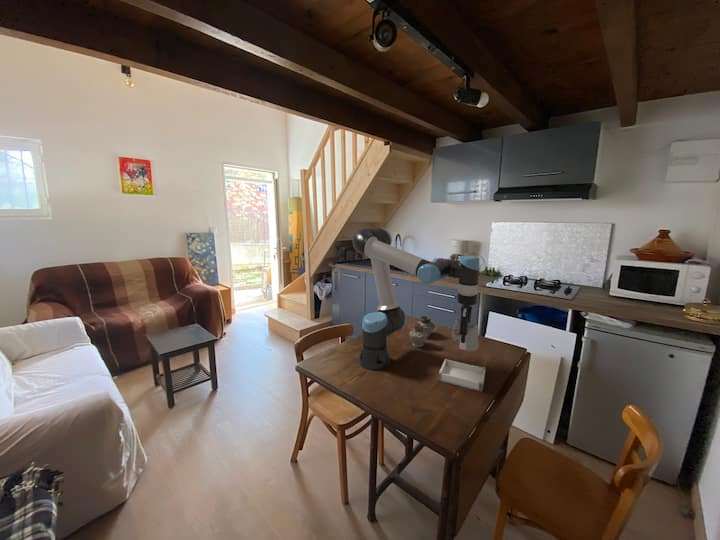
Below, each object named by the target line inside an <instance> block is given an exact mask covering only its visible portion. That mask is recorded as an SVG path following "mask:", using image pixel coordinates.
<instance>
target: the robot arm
mask: <svg viewBox="0 0 720 540" xmlns="http://www.w3.org/2000/svg"><path fill="white" fill-rule="evenodd" d="M392 239H393V238H392V235H391V233H390V231H389V230H387V229H386V228H384V227H379V226H378V227H377V226H375V227H367V228H360V229H359V230H357V231H355V232H354V234H353V236H352V239H351V242H352V247H353V248H354V250H355V251H356V252H358V253H359V254H362V256H366V257H367V258H369V259H370V262H371V267H372V273H373V278H374V283H375V288H376V289H375V290H376V295H377V299H378V304H379V306H378V307H377V308H376V310H377V311H374V312H373V311H372V312H369V313H367V314H365V315H364V316H363V318H362V324H361V327H362V330H361V331H362V336H361V337H362V347H361V349H360V353H359V355H358V363H359V365H360V366H362V367H363V368H365V369H368V370H381V369H386V368H387V367H388V366H389V365H390V364H391V356H390V353H389V350H388V337H390V336H392V335H394V334H396V333H398V332H400V331H401V330H402V329H403V328H405V325H406V323H407V314H406V312H405V311H404V310H403V308H402V307H401V305H400V304H399V303H398V302H397V300H396V294H395V289H394V284H393V278H392V274H391V269H390V265H391V266H393V267H396V268H397V269H401V270H402V271H404V272H406V273H409V274H411V275H413V276H416V277H417V278H418V280H419V281H420V282H421V283H422V284H426V285H427V284H428V285H429V284H434V283H436V282H438V281H441V280H442V279H445V278H454V279H458V285H457V292H458V293H457V303H458V304H462V306H461V307H460V326H459V332H457V335H458V336H459V335H460V339H459V344H458V345H459V346H458V349H459V350H464V351H467V350H466V345H467V327H468V323H471V319H472V318H471V317H472V311H473V306H474V305H477V302H478V290H480V286H479V279H480V278H479V277H480V276H479V275H480V258H479V257H478V256H474V255H462V256H460V257H459V259H448V258H443V257H442V258H439V257H438V258H437V257H435V258H433V259H432V261H429V260H427V259H425V258H422V257H420V256H418V255H415V254H414V253H413V254H412V253H410V252H408V251H405V250H402V249H400V248H398V247H395V246H392V241H393V240H392Z"/></svg>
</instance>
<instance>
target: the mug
mask: <svg viewBox="0 0 720 540" xmlns="http://www.w3.org/2000/svg"><path fill="white" fill-rule="evenodd" d="M460 322H461V319H459V317H455V322H454V323H453V326H452V329H451V338H452V340H453V341H454V342H456V341H457V340H460V335H459V334H458V333H457V328H459V327H460ZM479 336H480V333H479V325H478V324H476V323H468V327H467V345H466V350H465V351H467V352H476V351H477V350H478V349H479V347H480V344H479Z"/></svg>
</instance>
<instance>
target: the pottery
mask: <svg viewBox="0 0 720 540" xmlns="http://www.w3.org/2000/svg"><path fill="white" fill-rule="evenodd" d="M431 320H432V319H431V317H430V316H429V315H423V316H422V315H421V316H420V317H419V321H417V322H415V323H413V326H414V327H413V328H414V329H412V330H411V331H409V333H408V335H409V338H410V341H411V342H412V346H414V348H415V347H416V348H422V347H424V343H425V342H426V341H427V340H428V338H429V337H430V335H431V334H432V333H433V332H434V331H435V329H436V324H434V323H433V322H431Z"/></svg>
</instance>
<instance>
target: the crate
mask: <svg viewBox="0 0 720 540" xmlns="http://www.w3.org/2000/svg"><path fill="white" fill-rule="evenodd" d="M437 377H438V379H437V380H438V381H439V382H442V383H445V384H446V383H447V384H450V385H454V386H457V387H461V388H465V389H469V390H473V391H477V392H481V393H483V389H484V384H485V377H486V367H484V366H478V365H473V364H469V363H465V362H460V361H455V360H451V359H448V358H444V360H443V363H442V364H441V368H440V369H439V371H438V375H437Z"/></svg>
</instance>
